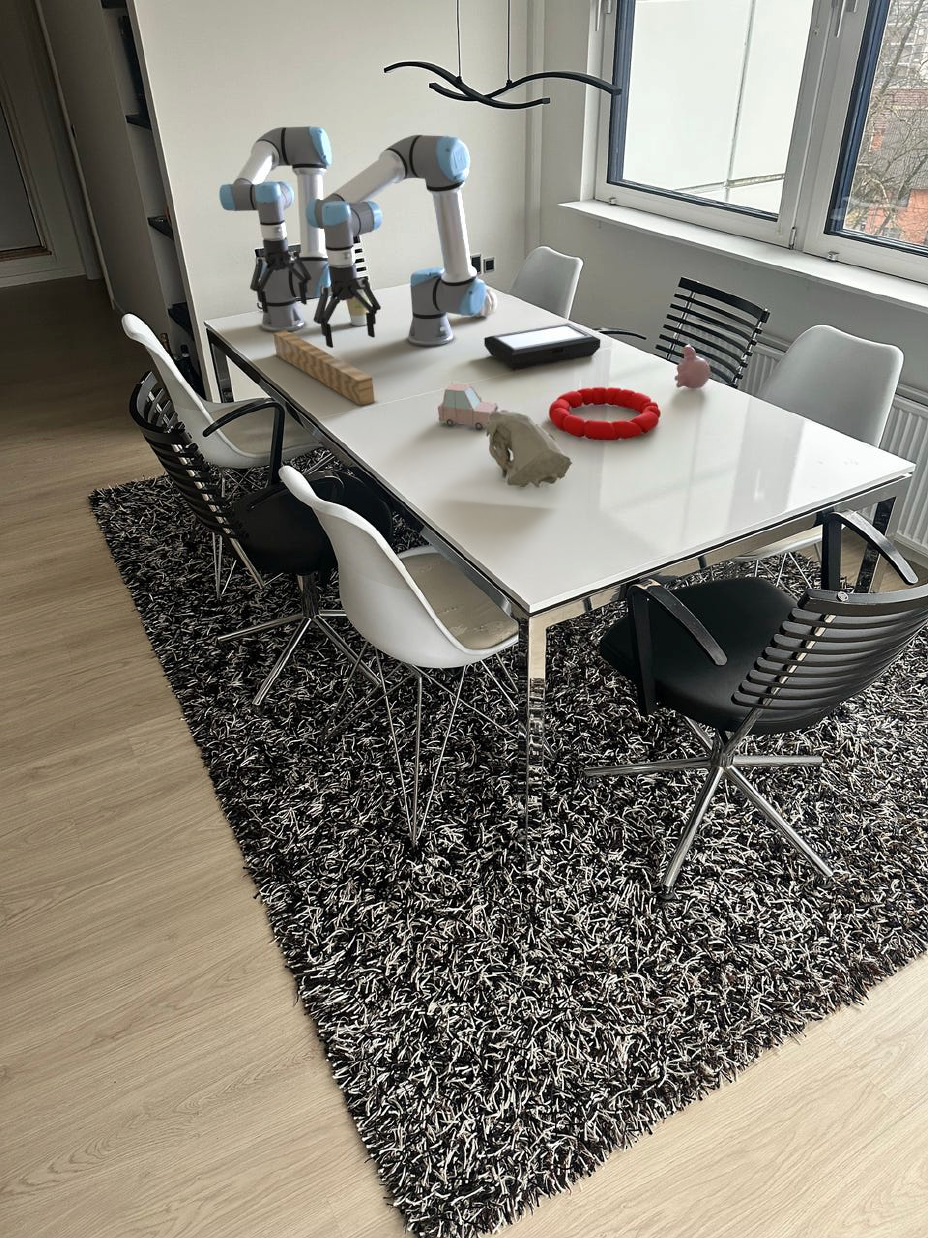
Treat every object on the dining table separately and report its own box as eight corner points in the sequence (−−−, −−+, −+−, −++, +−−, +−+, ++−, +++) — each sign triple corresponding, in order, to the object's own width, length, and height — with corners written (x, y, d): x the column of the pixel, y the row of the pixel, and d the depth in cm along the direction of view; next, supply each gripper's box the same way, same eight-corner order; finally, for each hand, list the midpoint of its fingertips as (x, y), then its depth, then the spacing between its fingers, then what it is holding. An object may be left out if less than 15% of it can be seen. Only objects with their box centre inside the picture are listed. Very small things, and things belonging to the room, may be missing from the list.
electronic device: (511, 352, 275) (484, 335, 290) (511, 372, 278) (484, 354, 294) (600, 336, 285) (569, 321, 300) (599, 356, 289) (569, 339, 304)
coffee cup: (372, 326, 323) (368, 283, 314) (345, 327, 323) (340, 284, 315) (374, 318, 331) (371, 276, 322) (348, 319, 331) (344, 277, 323)
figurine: (665, 387, 264) (669, 347, 257) (693, 380, 268) (698, 340, 261) (686, 396, 257) (690, 355, 250) (714, 388, 262) (720, 348, 255)
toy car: (488, 432, 240) (488, 396, 234) (436, 426, 244) (434, 390, 239) (499, 419, 247) (499, 384, 241) (448, 413, 252) (447, 379, 246)
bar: (276, 354, 300) (273, 332, 296) (288, 352, 302) (285, 330, 298) (361, 405, 259) (358, 380, 255) (374, 402, 261) (372, 377, 257)
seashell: (458, 316, 331) (457, 288, 325) (493, 309, 336) (492, 282, 331) (471, 322, 323) (471, 294, 318) (507, 316, 329) (507, 288, 323)
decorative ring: (589, 435, 224) (684, 402, 234) (527, 398, 247) (617, 369, 256) (589, 461, 229) (683, 427, 238) (529, 422, 251) (617, 393, 260)
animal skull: (496, 517, 219) (521, 479, 201) (463, 429, 225) (484, 384, 207) (557, 503, 225) (586, 465, 206) (523, 417, 231) (549, 373, 212)
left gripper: (241, 246, 266) (253, 318, 279) (316, 233, 277) (324, 302, 290) (231, 242, 271) (244, 312, 284) (305, 229, 282) (314, 297, 295)
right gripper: (306, 275, 236) (317, 354, 248) (388, 258, 246) (394, 335, 259) (294, 269, 241) (305, 347, 253) (374, 253, 252) (381, 328, 264)
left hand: (285, 307), depth 287 cm, fingers open, 13 cm apart
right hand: (350, 341), depth 256 cm, fingers open, 13 cm apart
